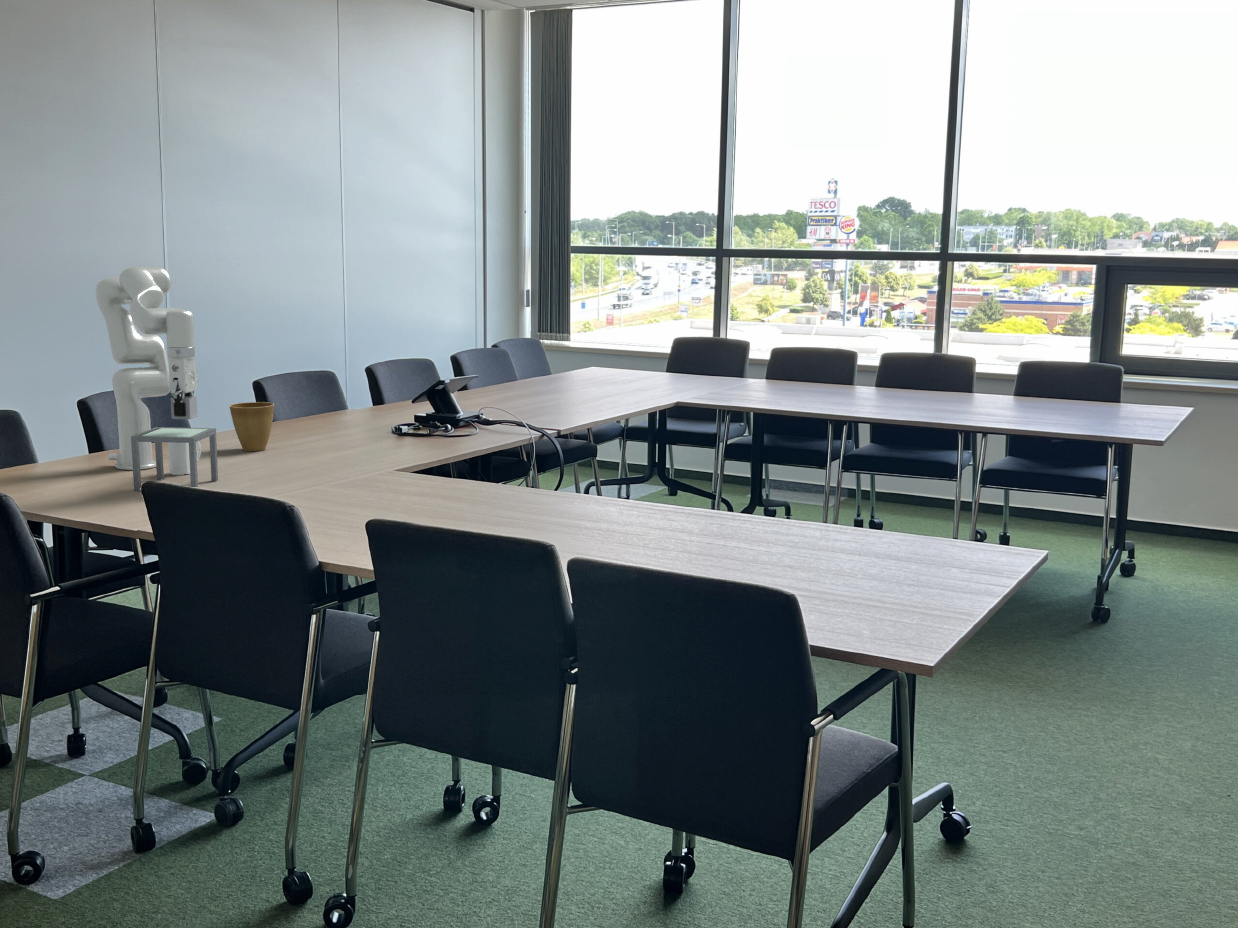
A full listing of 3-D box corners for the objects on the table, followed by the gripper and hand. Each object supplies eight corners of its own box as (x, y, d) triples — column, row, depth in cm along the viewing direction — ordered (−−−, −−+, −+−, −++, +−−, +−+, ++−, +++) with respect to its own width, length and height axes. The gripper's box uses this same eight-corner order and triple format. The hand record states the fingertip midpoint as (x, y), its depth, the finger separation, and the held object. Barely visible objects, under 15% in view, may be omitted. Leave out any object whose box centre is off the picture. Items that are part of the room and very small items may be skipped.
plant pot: (275, 445, 410) (273, 401, 407) (276, 452, 396) (274, 406, 393) (231, 446, 405) (229, 402, 402) (231, 454, 391) (229, 407, 388)
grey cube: (171, 418, 333) (170, 398, 332) (179, 416, 338) (178, 396, 337) (190, 419, 333) (189, 398, 332) (197, 416, 338) (196, 396, 337)
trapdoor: (141, 439, 330) (141, 435, 330) (161, 431, 344) (161, 428, 343) (189, 440, 330) (189, 436, 330) (207, 432, 344) (207, 429, 343)
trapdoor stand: (134, 490, 331) (130, 436, 328) (159, 478, 348) (156, 427, 345) (196, 492, 331) (193, 437, 328) (218, 480, 348) (215, 428, 345)
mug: (174, 476, 352) (172, 438, 350) (166, 473, 357) (163, 435, 355) (206, 472, 359) (204, 435, 357) (197, 469, 364) (196, 432, 362)
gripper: (182, 356, 324) (185, 419, 327) (205, 350, 341) (207, 410, 344) (156, 355, 324) (159, 418, 327) (180, 350, 341) (183, 410, 344)
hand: (184, 414), depth 335 cm, fingers closed on grey cube, 5 cm apart
